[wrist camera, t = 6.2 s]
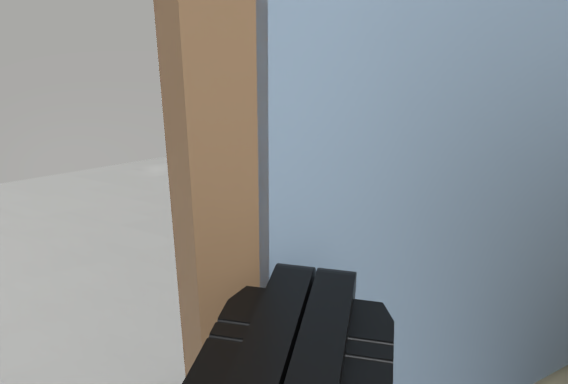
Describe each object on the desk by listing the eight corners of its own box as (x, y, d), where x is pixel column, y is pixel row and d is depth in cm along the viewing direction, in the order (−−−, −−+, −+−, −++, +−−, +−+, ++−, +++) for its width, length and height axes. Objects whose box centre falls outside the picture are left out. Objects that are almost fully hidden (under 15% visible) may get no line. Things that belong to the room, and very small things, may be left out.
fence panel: (554, 336, 19) (669, -117, 13) (585, 355, 18) (723, -125, 12) (197, 510, 13) (135, -205, 7) (216, 555, 12) (162, -233, 6)
